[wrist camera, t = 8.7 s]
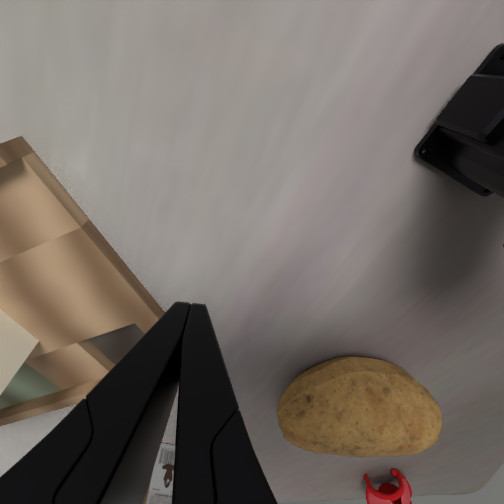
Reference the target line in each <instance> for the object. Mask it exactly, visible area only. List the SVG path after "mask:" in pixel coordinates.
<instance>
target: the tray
mask: <svg viewBox="0 0 504 504" xmlns="http://www.w3.org/2000/svg"><path fill="white" fill-rule="evenodd" d="M0 309H1V310H2V311H3V312H5V313H6V314H7V315H8V316H10V317H11V318H12V319H13V320H14V321H16V322H17V323H18V324H19V325H21V326H22V327H23V328H24V329H25V330H27V331H28V332H29V333H30V334H32V335H33V336H34V337H35V338H37V339H38V340H39V342H38V343H37V345H36V346H35V347H34V349H33V350H32V352H31V353H30V354H29V356H28V357H27V359H26V360H25V361H24V363H23V364H22V366H21V367H20V368H19V370H18V371H17V373H16V374H15V375H14V377H13V378H12V380H11V381H10V382H9V384H8V385H7V387H6V388H5V389H4V391H3V392H2V394H1V395H0V426H2V425H6V424H9V423H13V422H16V421H20V420H23V419H26V418H30V417H33V416H37V415H40V414H44V413H47V412H50V411H54V410H57V409H61V408H64V407H68V406H71V405H75V404H78V403H79V402H80V401H81V400H82V399H84V398H85V399H86V395H87V394H88V393H89V392H90V391H91V390H92V389H93V388H94V387H95V386H96V385H97V384H98V383H99V381H100V380H101V379H102V378H103V377H104V376H105V375H106V374H107V373H108V372H109V371H110V370H111V369H112V368H113V367H114V366H115V365H116V364H117V363H118V362H119V361H120V360H121V358H122V357H123V356H124V355H125V354H126V353H127V352H128V351H129V350H130V349H131V348H132V347H133V346H134V345H135V344H136V343H137V342H138V341H139V340H140V339H141V338H142V337H143V335H144V334H145V333H146V332H147V331H148V330H149V329H150V328H151V327H152V326H153V325H154V324H155V323H156V322H157V321H158V320H159V319H160V318H161V317H162V316H163V315H164V314H165V312H164V311H163V310H162V309H161V308H160V306H159V305H158V304H157V303H156V301H155V300H154V299H153V298H152V296H151V295H150V294H149V293H148V292H147V290H146V289H145V288H144V287H143V285H142V284H141V283H140V282H139V280H138V279H137V278H136V277H135V276H134V274H133V273H132V272H131V271H130V269H129V268H128V267H127V266H126V264H125V263H124V262H123V261H122V260H121V258H120V257H119V256H118V255H117V253H116V252H115V251H114V250H113V248H112V247H111V246H110V245H109V244H108V242H107V241H106V240H105V239H104V237H103V236H102V235H101V234H100V232H99V231H98V230H97V229H96V227H95V226H94V225H93V224H92V223H91V221H90V220H89V219H88V218H87V216H86V215H85V214H84V213H83V211H82V210H81V209H80V208H79V207H78V205H77V204H76V203H75V202H74V200H73V199H72V198H71V197H70V195H69V194H68V193H67V192H66V191H65V189H64V188H63V187H62V186H61V184H60V183H59V182H58V181H57V179H56V178H55V177H54V176H53V175H52V173H51V172H50V171H49V170H48V168H47V167H46V166H45V165H44V163H43V162H42V161H41V160H40V159H39V157H38V156H37V155H36V154H35V152H34V151H33V150H32V149H31V147H30V146H29V145H28V144H27V143H26V141H25V140H24V139H23V138H22V136H20V137H17V138H15V139H12V140H9V141H7V142H4V143H1V144H0Z"/></svg>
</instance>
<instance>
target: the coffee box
mask: <svg viewBox="0 0 504 504" xmlns="http://www.w3.org/2000/svg"><path fill="white" fill-rule="evenodd" d="M174 459H175V445H171V444H166V443H161V445H160V448H159V452H158V455H157V458H156V462H155V465H154V468H153V472H152V475H151V478H150V481H149V485H148V488H147V491H146V495H145V498H144V501H143V504H172V491H173V475H174Z"/></svg>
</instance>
